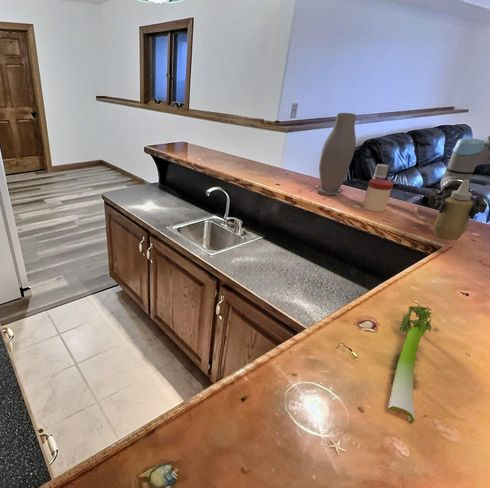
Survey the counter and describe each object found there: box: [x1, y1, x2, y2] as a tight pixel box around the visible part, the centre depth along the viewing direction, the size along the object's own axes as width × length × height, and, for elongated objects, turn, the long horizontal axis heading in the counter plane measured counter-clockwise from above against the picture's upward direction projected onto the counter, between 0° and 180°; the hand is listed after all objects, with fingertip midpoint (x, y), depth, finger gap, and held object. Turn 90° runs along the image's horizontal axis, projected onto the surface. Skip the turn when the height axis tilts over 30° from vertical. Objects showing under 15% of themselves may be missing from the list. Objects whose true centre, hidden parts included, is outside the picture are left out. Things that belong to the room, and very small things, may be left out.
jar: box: [362, 184, 393, 213], centre depth 143 cm, size 8×8×10 cm
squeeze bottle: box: [433, 180, 473, 242], centre depth 104 cm, size 8×8×18 cm
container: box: [372, 163, 390, 180], centre depth 153 cm, size 5×5×15 cm
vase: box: [316, 112, 357, 196], centre depth 155 cm, size 13×13×35 cm
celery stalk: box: [387, 305, 433, 425], centre depth 67 cm, size 6×7×30 cm
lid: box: [368, 178, 395, 190], centre depth 141 cm, size 8×8×2 cm
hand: (457, 211), depth 100 cm, fingers closed on squeeze bottle, 7 cm apart
